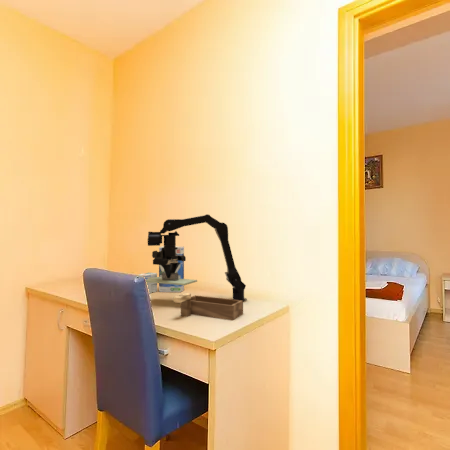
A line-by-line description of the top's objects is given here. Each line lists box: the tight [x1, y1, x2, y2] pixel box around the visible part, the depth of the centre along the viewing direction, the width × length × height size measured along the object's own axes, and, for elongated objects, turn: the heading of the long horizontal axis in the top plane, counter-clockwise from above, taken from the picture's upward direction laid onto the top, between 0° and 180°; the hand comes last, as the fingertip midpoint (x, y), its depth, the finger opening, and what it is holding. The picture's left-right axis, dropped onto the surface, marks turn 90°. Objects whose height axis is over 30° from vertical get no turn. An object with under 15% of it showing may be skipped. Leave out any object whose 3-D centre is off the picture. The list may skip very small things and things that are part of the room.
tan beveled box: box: [173, 292, 192, 304], centre depth 129 cm, size 8×3×2 cm, turn 152°
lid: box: [146, 272, 198, 286], centre depth 152 cm, size 11×24×4 cm, turn 62°
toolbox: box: [180, 295, 244, 321], centre depth 133 cm, size 14×24×6 cm, turn 62°
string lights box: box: [158, 245, 185, 293], centre depth 183 cm, size 13×8×26 cm, turn 82°
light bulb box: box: [138, 271, 158, 294], centre depth 178 cm, size 11×7×11 cm, turn 149°
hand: (170, 277), depth 152 cm, fingers closed on lid, 2 cm apart
